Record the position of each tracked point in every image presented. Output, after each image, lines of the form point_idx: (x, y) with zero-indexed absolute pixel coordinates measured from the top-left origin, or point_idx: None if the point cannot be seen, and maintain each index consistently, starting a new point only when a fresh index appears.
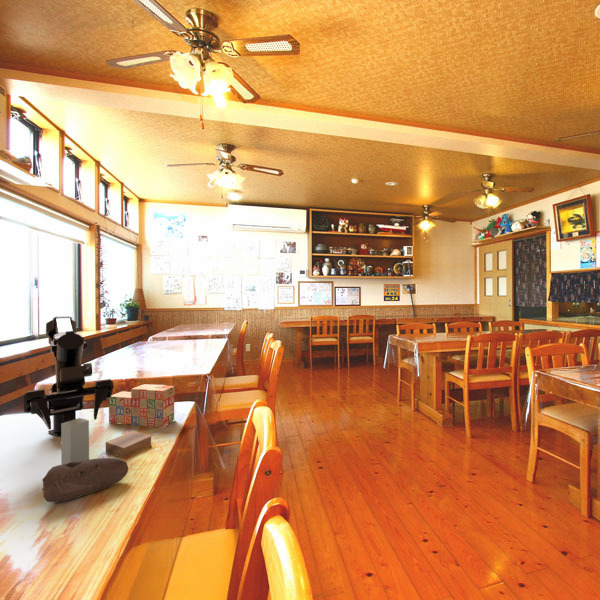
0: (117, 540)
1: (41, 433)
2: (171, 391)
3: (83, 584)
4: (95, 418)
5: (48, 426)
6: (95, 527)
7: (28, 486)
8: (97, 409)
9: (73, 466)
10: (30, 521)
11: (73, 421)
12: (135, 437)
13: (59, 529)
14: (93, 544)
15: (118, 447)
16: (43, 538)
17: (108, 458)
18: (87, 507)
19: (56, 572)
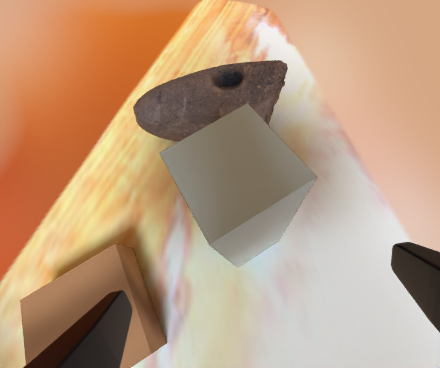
0: (183, 32)
1: None
2: None
3: (212, 2)
4: (123, 294)
5: (417, 246)
6: (203, 53)
7: (344, 214)
8: (54, 345)
9: (230, 86)
10: (287, 90)
11: (242, 179)
12: (58, 324)
13: None
14: (205, 33)
15: (126, 269)
16: (258, 55)
17: (158, 90)
18: None
19: (235, 15)
